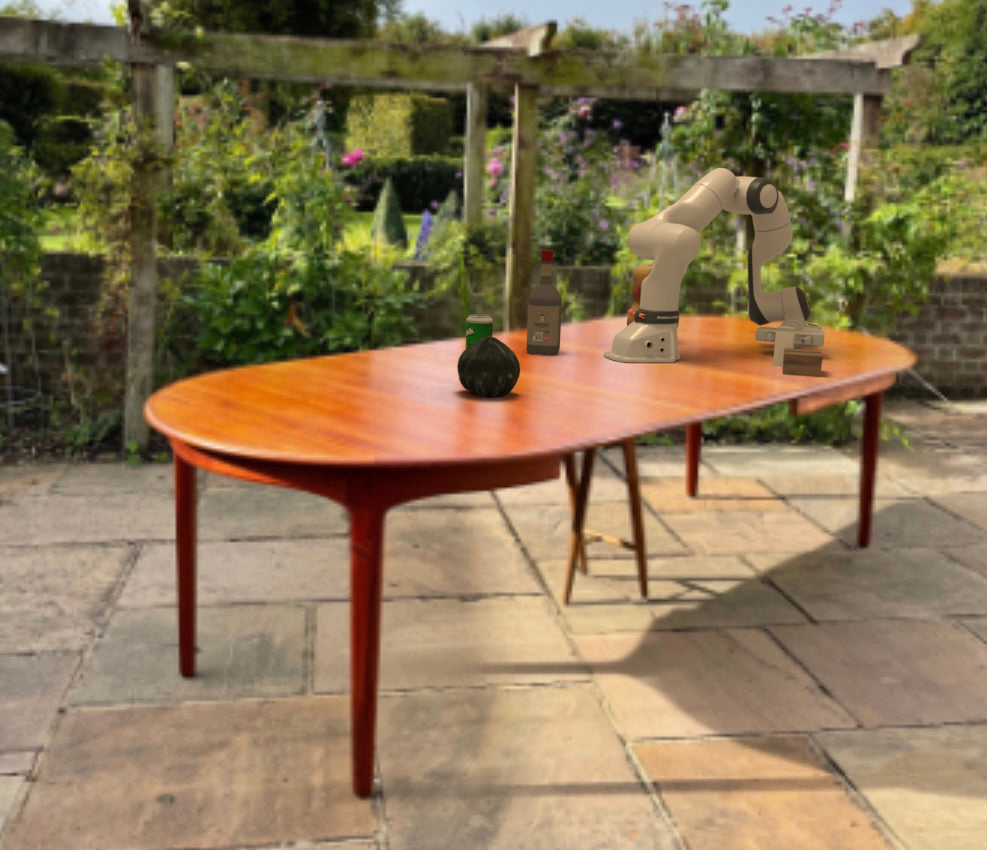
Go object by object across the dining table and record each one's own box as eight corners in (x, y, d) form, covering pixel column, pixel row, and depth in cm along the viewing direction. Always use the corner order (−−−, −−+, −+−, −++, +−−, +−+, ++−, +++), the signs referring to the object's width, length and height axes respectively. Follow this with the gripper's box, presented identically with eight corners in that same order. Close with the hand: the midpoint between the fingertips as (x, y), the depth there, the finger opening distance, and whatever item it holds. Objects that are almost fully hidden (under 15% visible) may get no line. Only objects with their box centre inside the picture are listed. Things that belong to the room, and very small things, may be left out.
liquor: (556, 356, 317) (560, 252, 310) (525, 354, 319) (529, 250, 312) (560, 351, 326) (565, 249, 319) (530, 349, 327) (534, 248, 320)
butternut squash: (619, 342, 346) (623, 263, 340) (634, 337, 357) (639, 260, 352) (660, 347, 340) (666, 266, 334) (674, 342, 351) (680, 263, 345)
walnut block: (820, 377, 298) (822, 356, 297) (782, 375, 300) (784, 353, 299) (818, 371, 308) (821, 350, 306) (782, 369, 310) (784, 348, 308)
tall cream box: (790, 367, 312) (794, 329, 309) (772, 365, 314) (776, 327, 311) (792, 364, 316) (795, 326, 314) (774, 363, 318) (778, 325, 316)
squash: (491, 362, 272) (467, 321, 262) (539, 373, 263) (516, 331, 253) (461, 405, 266) (436, 365, 256) (509, 417, 257) (484, 376, 247)
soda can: (492, 356, 314) (494, 314, 311) (490, 360, 306) (491, 317, 304) (466, 354, 314) (468, 313, 312) (463, 359, 307) (464, 316, 304)
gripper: (758, 320, 339) (752, 326, 326) (826, 326, 332) (823, 332, 319) (756, 341, 340) (751, 347, 328) (824, 346, 334) (821, 353, 321)
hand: (787, 339), depth 323 cm, fingers open, 8 cm apart
